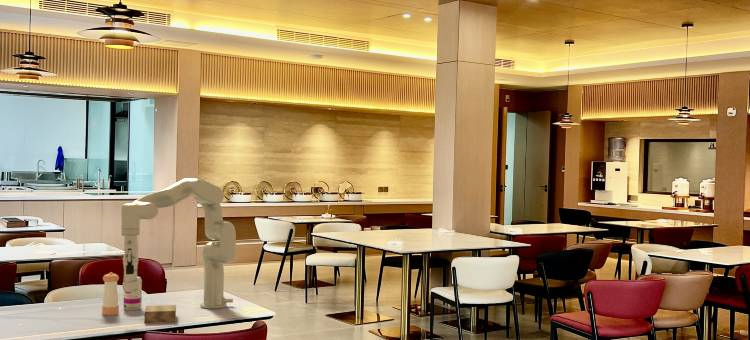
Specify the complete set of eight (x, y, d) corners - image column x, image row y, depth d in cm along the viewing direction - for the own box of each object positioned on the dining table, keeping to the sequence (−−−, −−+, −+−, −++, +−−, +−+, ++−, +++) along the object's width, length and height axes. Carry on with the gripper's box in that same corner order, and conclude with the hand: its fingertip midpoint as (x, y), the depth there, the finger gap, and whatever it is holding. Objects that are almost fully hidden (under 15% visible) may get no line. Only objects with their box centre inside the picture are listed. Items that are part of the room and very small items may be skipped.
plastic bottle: (124, 290, 331) (124, 245, 330) (140, 290, 332) (140, 245, 331) (120, 293, 325) (120, 247, 324) (136, 293, 325) (136, 247, 324)
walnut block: (175, 315, 345) (175, 305, 345) (175, 322, 332) (175, 310, 332) (146, 316, 342) (146, 305, 342) (144, 323, 329) (144, 311, 329)
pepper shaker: (122, 312, 349) (122, 271, 349) (111, 315, 342) (112, 273, 342) (109, 311, 352) (109, 270, 351) (98, 314, 345) (99, 272, 344)
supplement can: (136, 310, 354) (136, 279, 354) (120, 309, 356) (120, 278, 355) (144, 307, 362) (145, 276, 362) (129, 306, 364) (129, 275, 363)
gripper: (138, 234, 320) (138, 276, 320) (140, 229, 337) (140, 269, 337) (119, 234, 318) (119, 276, 319) (123, 229, 335) (123, 269, 335)
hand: (130, 272), depth 328 cm, fingers closed on plastic bottle, 5 cm apart
